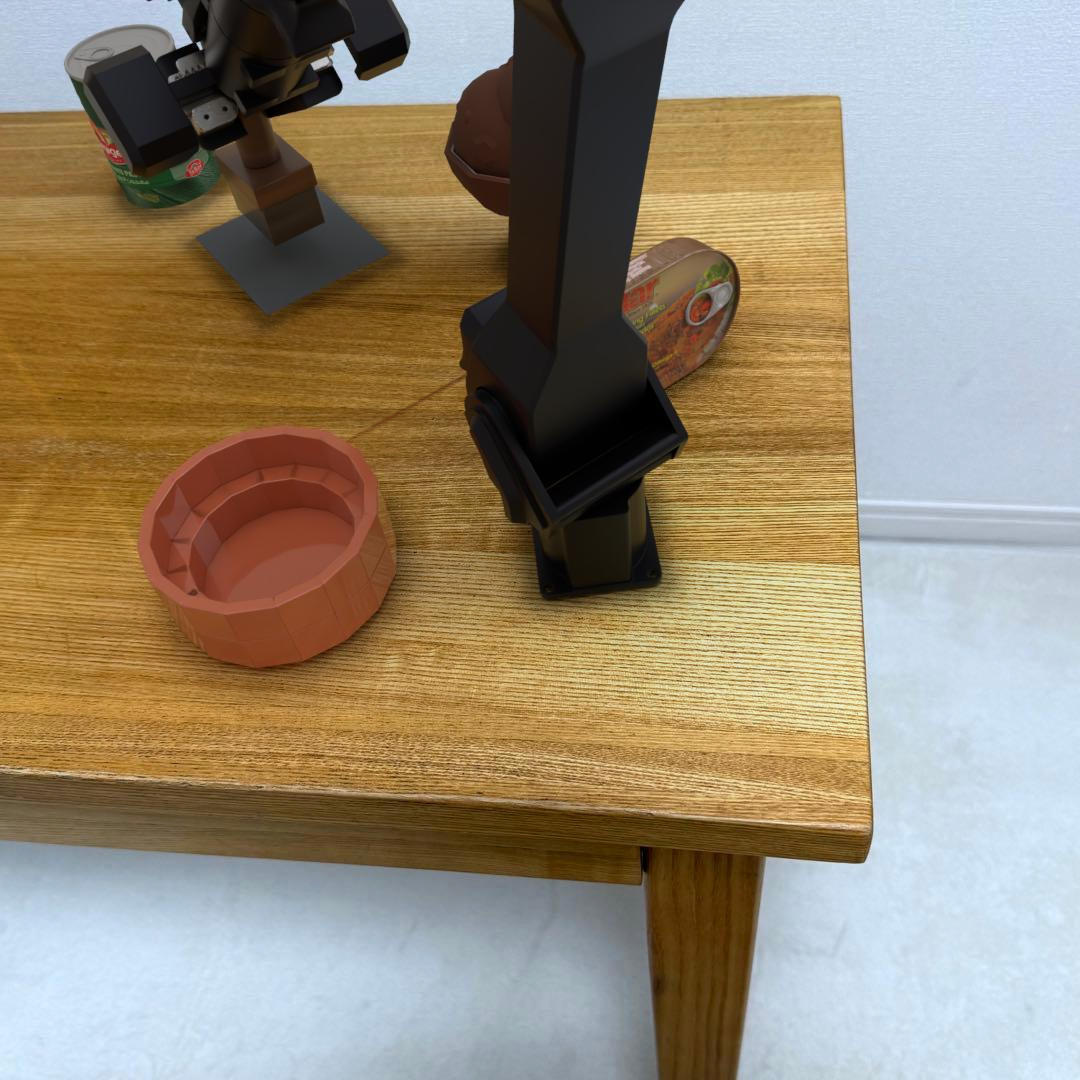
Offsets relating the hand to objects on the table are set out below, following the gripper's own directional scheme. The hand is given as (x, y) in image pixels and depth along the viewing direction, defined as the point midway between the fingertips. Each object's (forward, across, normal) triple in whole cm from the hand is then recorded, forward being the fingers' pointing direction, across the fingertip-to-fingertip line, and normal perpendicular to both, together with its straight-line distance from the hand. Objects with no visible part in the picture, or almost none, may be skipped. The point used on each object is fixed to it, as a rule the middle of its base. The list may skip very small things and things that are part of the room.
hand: (242, 119), depth 71 cm
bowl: (-13, +14, +27) cm, 33 cm away
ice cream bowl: (-3, -13, +18) cm, 22 cm away
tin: (-13, -10, +28) cm, 32 cm away
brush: (+4, 0, +6) cm, 7 cm away
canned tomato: (+16, +3, -2) cm, 17 cm away
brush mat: (+6, 0, +8) cm, 10 cm away
